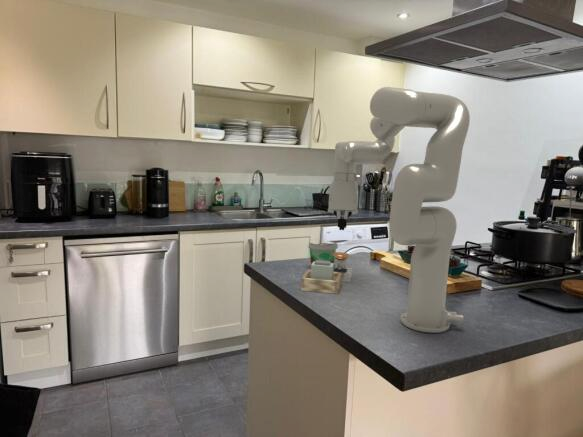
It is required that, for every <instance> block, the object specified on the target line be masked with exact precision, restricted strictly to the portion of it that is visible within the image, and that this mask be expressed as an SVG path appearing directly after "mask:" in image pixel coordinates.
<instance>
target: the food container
mask: <svg viewBox="0 0 583 437" xmlns="http://www.w3.org/2000/svg"><path fill="white" fill-rule="evenodd" d="M307 247H308V249H309V258H310V261H309V262H310V266H311V265H312V263H313V261H314V262H315V261H316V260H320V261H331V263H334V264H335V258H334V257H333V253H336V250H337V249H339V248H338V247H339V246H338V243H337V241H334V242H333V243H326V242H321V243H312V242H309V243H308V246H307Z"/></svg>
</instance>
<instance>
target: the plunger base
mask: <svg viewBox="0 0 583 437" xmlns="http://www.w3.org/2000/svg"><path fill="white" fill-rule="evenodd" d="M334 272H335V266H334ZM340 273H341V283H351V280H352V276H353V275H352V273H353V268H352V267H346V272H345V273H344V272H340Z"/></svg>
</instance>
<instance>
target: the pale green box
mask: <svg viewBox="0 0 583 437" xmlns="http://www.w3.org/2000/svg"><path fill="white" fill-rule="evenodd" d="M334 267H335V262H334V263H331V261H320V260H316V261H315V262H314V261H313V263H312V265H311V264H310V270H311V279H322V280H333V272H334Z"/></svg>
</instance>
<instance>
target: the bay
mask: <svg viewBox="0 0 583 437" xmlns="http://www.w3.org/2000/svg"><path fill="white" fill-rule="evenodd" d="M300 282H301V285H300V286H301V287H300V290H301V291H304V292H305V291H306V292H313V293H314V292H315V293H323V294H324V293H325V294H333V295H334V294H336V295H338V294H339V292H340V288H341V285H342V282H341V273H340V272H333V280H322V279H311V269H306V271H305V272H304V274H303V276H302V277H301V281H300Z"/></svg>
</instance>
